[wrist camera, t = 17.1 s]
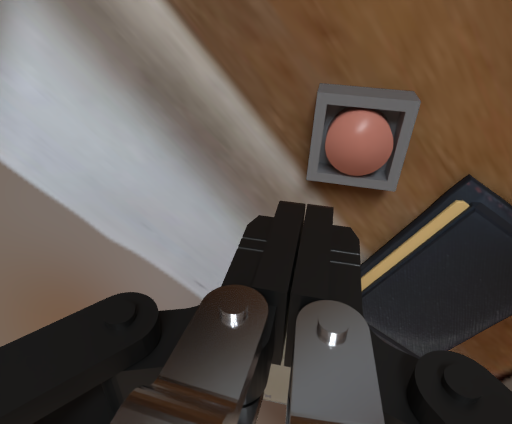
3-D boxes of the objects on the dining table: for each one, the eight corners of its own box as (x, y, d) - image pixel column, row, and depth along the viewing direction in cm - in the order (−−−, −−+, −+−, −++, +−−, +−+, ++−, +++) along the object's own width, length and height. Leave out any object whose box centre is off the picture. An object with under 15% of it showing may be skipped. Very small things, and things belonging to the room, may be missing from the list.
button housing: (413, 91, 27) (420, 101, 25) (391, 175, 31) (395, 191, 29) (320, 83, 28) (317, 92, 26) (309, 165, 32) (306, 179, 30)
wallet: (419, 375, 41) (315, 307, 38) (416, 361, 42) (316, 295, 40) (607, 282, 30) (481, 179, 28) (594, 268, 32) (473, 169, 29)
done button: (397, 108, 27) (401, 116, 25) (382, 167, 30) (384, 179, 28) (331, 101, 28) (330, 109, 26) (322, 160, 31) (321, 171, 29)
